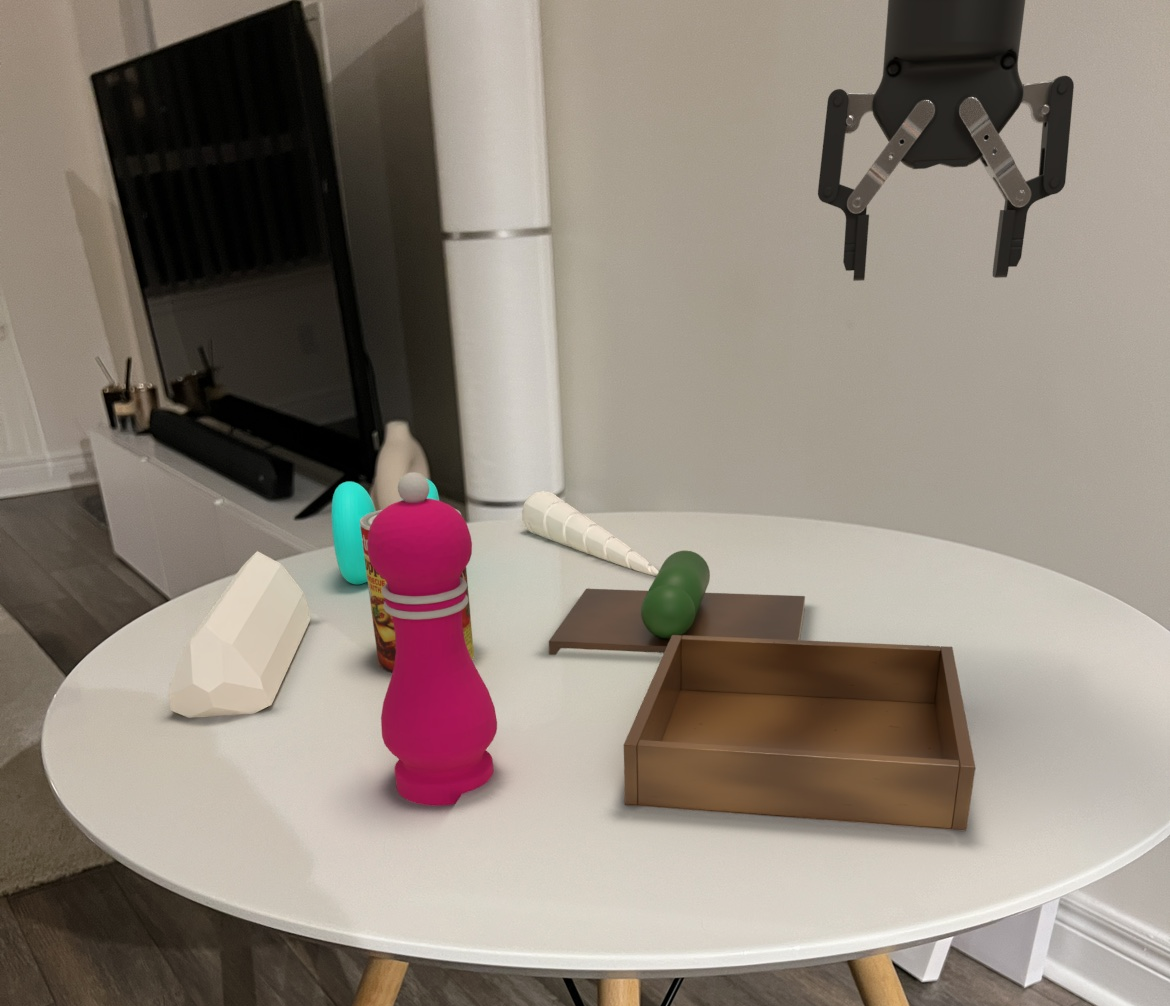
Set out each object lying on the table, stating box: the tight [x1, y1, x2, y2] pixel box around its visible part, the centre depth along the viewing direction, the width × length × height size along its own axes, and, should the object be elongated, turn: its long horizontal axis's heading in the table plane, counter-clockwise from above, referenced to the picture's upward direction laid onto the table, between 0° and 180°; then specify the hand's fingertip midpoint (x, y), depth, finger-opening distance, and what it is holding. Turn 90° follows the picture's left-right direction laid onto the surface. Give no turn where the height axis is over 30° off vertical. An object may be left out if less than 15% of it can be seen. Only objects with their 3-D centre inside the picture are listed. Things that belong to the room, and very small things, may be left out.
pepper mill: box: [367, 471, 498, 807], centre depth 66 cm, size 7×7×20 cm
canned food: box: [360, 508, 475, 674], centre depth 88 cm, size 8×8×12 cm
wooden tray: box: [623, 635, 976, 832], centre depth 71 cm, size 20×19×5 cm
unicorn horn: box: [521, 490, 659, 577], centre depth 116 cm, size 5×24×5 cm, turn 29°
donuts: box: [331, 478, 440, 586], centre depth 109 cm, size 10×10×10 cm
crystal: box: [168, 550, 312, 719], centre depth 90 cm, size 7×7×24 cm
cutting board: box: [548, 588, 806, 656], centre depth 94 cm, size 20×14×2 cm
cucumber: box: [641, 550, 711, 639], centre depth 93 cm, size 14×4×4 cm, turn 167°
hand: (928, 278), depth 69 cm, fingers open, 8 cm apart
